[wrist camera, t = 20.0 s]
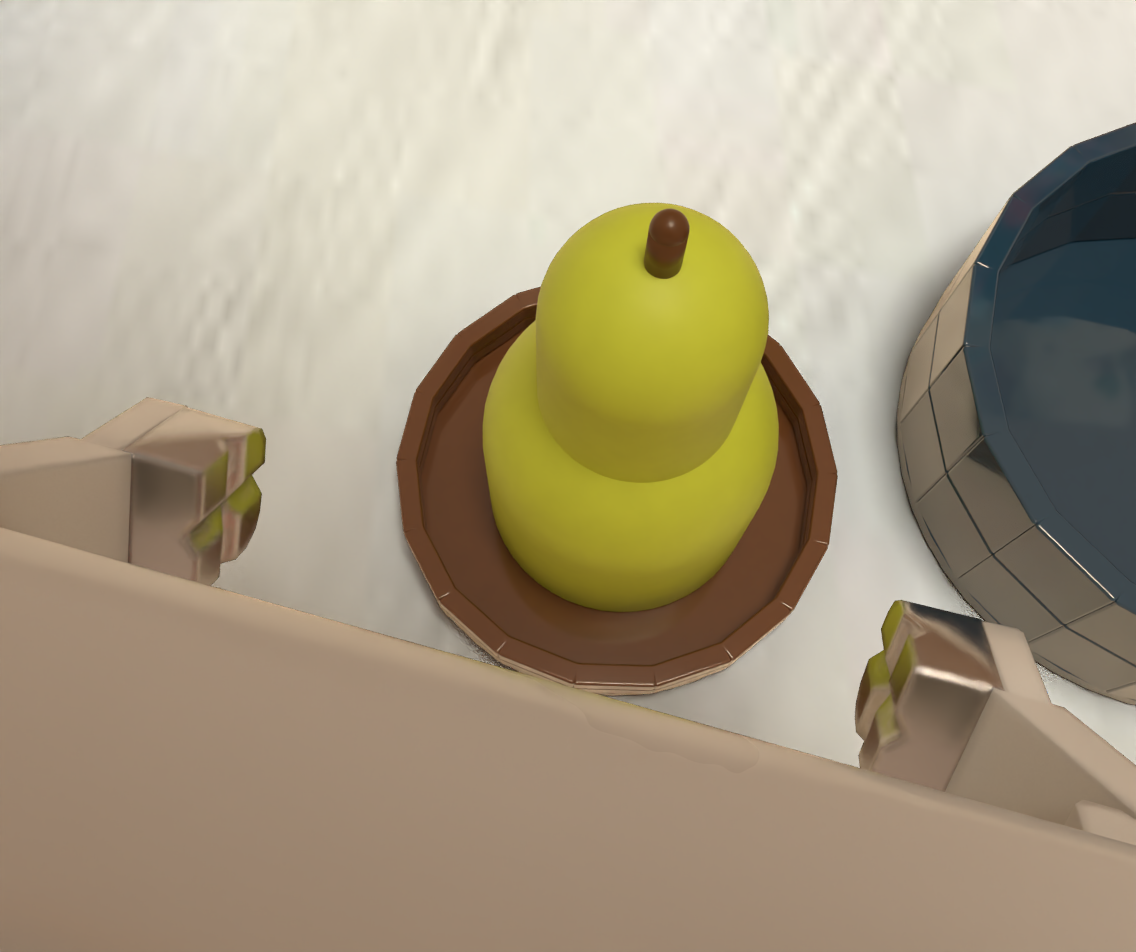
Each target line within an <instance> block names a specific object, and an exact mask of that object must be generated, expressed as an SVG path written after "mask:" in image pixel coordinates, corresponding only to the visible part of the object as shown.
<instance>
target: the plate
mask: <svg viewBox="0 0 1136 952" xmlns="http://www.w3.org/2000/svg"><path fill="white" fill-rule="evenodd" d="M540 288H541V287H538V288H534V289H531V290H527V291H524V292H520V293H517V294H516V295H513V296H511V297H510V298H509V299H507V300H506V301H504V302H503V303H501V304H500V305H498V306H497V307H495V308H494V309H492V310H491V311H490V312H488V313H487V314H485V315H484V316H482V317H481V318H479V319H478V320H476V321H475V322H473V323H472V324H471V325H469V326H468V327H466V328H465V329H463V330H462V331H460V332H459V333H458V335H455V337H454V338H453V339H452V341H451V342H450V344H449V345H448V346H447V348H446V349H445V350H444V352H443V353H442V354H441V356H440V357H439V359H438V360H437V361H436V363H435V364H434V365H433V367H432V368H431V370H430V371H429V372H428V374H427V375H426V376H425V378H424V379H423V381H422V382H421V383H420V385H419V386H418V387H417V389H416V392H415V393H414V396H413V400H412V404H411V407H410V411H409V415H408V418H407V422H406V425H405V429H404V433H403V436H402V440H401V444H400V447H399V451H398V454H397V461H396V466H397V476H398V486H399V496H400V505H401V515H402V525H403V532H404V536H405V538H406V540H407V543H408V545H409V547H410V549H411V551H412V553H413V555H414V557H415V559H416V561H417V563H418V565H419V567H420V569H421V571H422V573H423V575H424V577H425V579H426V581H427V583H428V585H429V586H430V588H431V590H432V592H433V594H434V596H435V598H436V600H437V602H438V604H439V606H440V608H441V609H442V610H443V612H444V613H445V614H446V615H447V616H448V617H449V618H451V619H452V620H453V621H454V622H455V623H456V625H457V626H458V627H459V628H460V629H461V630H462V631H463V632H464V633H465V634H466V635H468V636H469V637H470V638H471V639H472V640H473V641H474V642H475V643H476V644H477V645H478V646H479V647H481V648H482V649H483V650H485V651H486V652H488V653H489V654H490V655H491V656H493V657H494V658H495V659H496V660H497V661H500V662H501V663H502V664H504V665H507V666H509V667H511V668H513V669H515V670H516V671H518V672H520V673H523V674H526V675H530V676H533V677H537V678H540V679H544V680H547V681H551V682H555V683H558V684H562V685H565V686H569V687H572V688H576V689H580V690H583V691H587V692H590V693H594V694H600V695H610V696H614V695H640V694H651V693H657V692H660V691H664V690H669V689H672V688H675V687H679V686H682V685H685V684H688V683H691V682H695V681H697V680H699V679H701V678H703V677H706V676H708V675H710V674H713V673H716V672H719V671H722V670H724V669H725V668H728V667H729V666H730V665H731V664H733V663H734V662H735V661H736V660H737V659H739V658H740V657H741V656H742V655H744V654H745V653H746V652H747V651H749V650H750V649H751V648H752V647H753V646H754V645H756V644H757V643H758V642H759V641H760V640H762V639H763V638H764V637H765V636H766V635H768V634H769V633H770V632H771V631H772V630H774V629H775V628H776V627H777V626H778V625H780V624H781V623H782V622H783V621H784V620H785V619H786V618H787V617H788V616H789V615H790V614H791V612H792V611H793V610H794V609H795V607H796V605H797V603H798V601H799V599H800V598H801V596H802V594H803V592H804V590H805V589H806V587H807V585H808V583H809V581H810V580H811V578H812V576H813V574H814V572H815V570H816V569H817V567H818V565H819V563H820V561H821V560H822V558H823V556H824V554H825V552H826V550H827V549H828V545H829V540H830V532H831V524H832V517H833V509H834V501H835V493H836V485H837V477H838V476H837V469H836V464H835V460H834V456H833V452H832V448H831V444H830V440H829V436H828V432H827V428H826V424H825V420H824V416H823V412H822V408H821V405H819V404H820V403H819V401H818V400H817V398H816V397H815V395H814V394H813V392H812V391H811V389H810V388H809V386H808V385H807V383H806V382H805V380H804V379H803V377H802V376H801V374H800V373H799V371H798V370H797V368H796V367H795V365H794V364H793V362H792V361H791V359H790V358H789V356H788V355H787V353H786V352H785V350H784V349H783V347H782V346H781V345H780V344H779V343H778V342H777V341H775V340H774V339H773V338H772V337H770V336H769V335H768V336H767V341H766V346H765V350H764V354H763V356H762V359H761V364H762V365H763V367H764V370H765V372H766V375H767V377H768V380H769V382H770V385H771V387H772V390H773V394H774V398H775V402H776V406H777V414H778V423H779V436H778V453H777V459H776V465H775V469H774V472H773V475H772V478H771V481H770V485H769V487H768V490H767V492H766V494H765V496H764V499H763V501H762V503H761V505H760V507H759V509H758V510H757V512H756V514H755V515H754V517H753V519H752V520H751V522H750V524H749V525H748V527H747V529H746V530H745V532H744V534H743V535H742V537H741V539H740V541H739V542H738V544H737V546H736V547H735V549H734V551H733V552H732V554H731V555H730V556H729V558H728V559H727V561H726V562H725V564H724V565H723V566H722V567H721V568H720V569H719V570H718V572H717V573H716V574H715V575H714V576H713V577H712V578H711V579H709V580H708V581H707V582H706V583H705V584H703V585H702V586H701V587H700V588H698V589H697V590H695V591H693V592H692V593H690V594H689V595H687V596H685V597H683V598H681V599H679V600H677V601H674V602H672V603H670V604H667V605H663V606H660V607H657V608H654V609H648V610H642V611H634V612H613V611H602V610H597V609H593V608H588V607H584V606H581V605H578V604H575V603H573V602H570V601H567V600H565V599H563V598H561V597H559V596H558V595H556V594H554V593H552V592H550V591H549V590H547V589H546V588H544V587H543V586H542V585H540V584H539V583H537V582H536V581H535V580H534V579H533V578H532V577H531V576H530V575H529V574H527V573H526V572H525V571H524V570H523V569H522V567H521V566H520V565H519V564H518V563H517V561H516V560H515V559H514V558H513V556H512V555H511V553H510V552H509V550H508V548H507V547H506V545H505V544H504V542H503V539H502V537H501V535H500V533H499V531H498V528H497V525H496V522H495V518H494V515H493V511H492V505H491V498H490V492H489V485H488V478H487V472H486V465H485V458H484V452H483V417H484V409H485V403H486V400H487V396H488V392H489V389H490V386H491V383H492V381H493V378H494V376H495V374H496V371H497V369H498V367H499V364H500V363H501V361H502V359H503V358H504V356H505V355H506V353H507V351H508V350H509V348H510V347H511V346H512V345H513V343H514V342H515V341H516V340H517V338H518V337H519V336H520V335H521V334H522V333H523V332H524V330H526V329H527V328H528V327H529V326H530V325H531V324H532V323H533V322H534V321H535V320H536V311H537V302H538V296H539V292H540ZM779 345H780V346H779Z"/></svg>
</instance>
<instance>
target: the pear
mask: <svg viewBox="0 0 1136 952" xmlns="http://www.w3.org/2000/svg"><path fill="white" fill-rule="evenodd" d="M768 324H769V310H768V301H767V296H766V292H765V288H764V284H763V281H762V278H761V276H760V273H759V271H758V268H757V266H756V264H755V263H754V261H753V259H752V258H751V256H750V254H749V253H748V252H747V250H746V249H745V248H744V246H743V245H742V244H741V243H740V241H739V240H738V239H737V238H736V237H735V236H734V235H733V234H732V233H731V232H730V231H729V230H727V229H726V228H725V227H724V226H722V225H721V224H720V223H718V222H717V221H715V220H713V219H712V218H710V217H708V216H706V215H704V214H702V213H700V212H697V211H695V210H692V209H689V208H686V207H683V206H678V205H673V204H666V203H641V204H634V205H628V206H624V207H620V208H617V209H614V210H612V211H609V212H607V213H604V214H603V215H601V216H599V217H597V218H595V219H593V220H592V221H590V222H589V223H587V224H586V225H585V226H583V227H582V228H580V229H579V230H578V231H577V232H576V233H575V234H573V235H572V236H571V237H570V238H569V239H568V241H567V242H566V243H565V244H564V245H563V247H562V248H561V249H560V250H559V252H558V253H557V254H556V256H555V257H554V259H553V261H552V262H551V264H550V266H549V268H548V270H547V273H546V275H545V277H544V280H543V282H542V285H541V288H540V292H539V296H538V302H537V311H536V320H535V321H534V322H533V323H532V324H531V325H530V326H529V327H528V328H527V329H526V330H524V332H523V333H522V334H521V335H520V336H519V337H518V338H517V340H516V341H515V342H514V343H513V345H512V346H511V347H510V348H509V350H508V351H507V353H506V355H505V356H504V358H503V359H502V361H501V363H500V364H499V367H498V369H497V371H496V374H495V376H494V378H493V381H492V383H491V386H490V389H489V392H488V396H487V400H486V403H485V409H484V417H483V452H484V458H485V465H486V472H487V478H488V485H489V492H490V498H491V505H492V511H493V515H494V518H495V522H496V525H497V528H498V531H499V533H500V535H501V537H502V539H503V542H504V544H505V545H506V547H507V548H508V550H509V552H510V553H511V555H512V556H513V558H514V559H515V560H516V561H517V563H518V564H519V565H520V566H521V567H522V569H523V570H524V571H525V572H526V573H527V574H529V575H530V576H531V577H532V578H533V579H534V580H535V581H536V582H537V583H539V584H540V585H542V586H543V587H544V588H546V589H547V590H549V591H550V592H552V593H554V594H556V595H558V596H559V597H561V598H563V599H565V600H567V601H570V602H573V603H575V604H578V605H581V606H584V607H588V608H593V609H597V610H602V611H613V612H634V611H642V610H648V609H654V608H657V607H660V606H663V605H667V604H670V603H672V602H674V601H677V600H679V599H681V598H683V597H685V596H687V595H689V594H690V593H692V592H693V591H695V590H697V589H698V588H700V587H701V586H702V585H703V584H705V583H706V582H707V581H708V580H709V579H711V578H712V577H713V576H714V575H715V574H716V573H717V572H718V570H719V569H720V568H721V567H722V566H723V565H724V564H725V562H726V561H727V559H728V558H729V556H730V555H731V554H732V552H733V551H734V549H735V547H736V546H737V544H738V542H739V541H740V539H741V537H742V535H743V534H744V532H745V530H746V529H747V527H748V525H749V524H750V522H751V520H752V519H753V517H754V515H755V514H756V512H757V510H758V509H759V507H760V505H761V503H762V501H763V499H764V496H765V494H766V492H767V490H768V487H769V485H770V481H771V478H772V475H773V472H774V469H775V465H776V459H777V453H778V436H779V423H778V414H777V406H776V402H775V398H774V394H773V390H772V387H771V385H770V382H769V380H768V377H767V375H766V372H765V370H764V367H763V365H762V364H761V359H762V356H763V354H764V350H765V346H766V341H767V336H768Z"/></svg>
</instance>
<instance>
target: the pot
mask: <svg viewBox="0 0 1136 952" xmlns="http://www.w3.org/2000/svg"><path fill="white" fill-rule="evenodd" d="M897 443H898V451H899V458H900V464H901V471H902V477H903V480H904V484H905V487H906V491H907V494H908V498H909V501H910V504H911V508H912V510H913V513H914V515H915V517H916V520H917V522H918V524H919V526H920V529H921V531H922V533H923V536H924V538H925V540H926V542H927V544H928V545H929V547H930V549H931V550H932V552H933V554H934V556H935V557H936V559H937V561H938V562H939V564H940V566H941V567H942V569H943V571H944V572H945V573H946V575H947V576H948V577H949V579H950V580H951V581H952V583H953V584H954V585H955V587H956V588H957V589H958V591H959V592H960V593H961V594H962V596H963V597H964V598H965V600H966V601H967V602H968V603H969V604H970V605H971V606H972V607H973V608H974V609H975V610H976V611H977V612H978V613H979V614H980V615H981V616H982V617H983V618H984V619H985V621H986V622H989V623H994V624H998V625H1003V626H1008V627H1012V628H1017V629H1019V630H1020V631H1021V632H1023V633H1024V635H1025V638H1026V640H1027V643H1028V646H1029V648H1030V651H1031V653H1032V656H1033V658H1034V660H1035V661H1037V662H1038V663H1040V664H1042V665H1043V666H1045V667H1046V668H1048V669H1049V670H1051V671H1052V672H1054V673H1056V674H1058V675H1060V676H1062V677H1064V678H1066V679H1068V680H1070V681H1072V682H1074V683H1076V684H1078V685H1080V686H1082V687H1084V688H1086V689H1088V690H1091V691H1094V692H1096V693H1099V694H1102V695H1105V696H1108V697H1110V698H1113V699H1116V700H1119V701H1122V702H1124V703H1129V704H1133V705H1136V123H1133V124H1130V125H1127V126H1125V127H1122V128H1119V129H1116V130H1114V131H1111V132H1108V133H1105V134H1102V135H1100V136H1097V137H1094V138H1091V139H1089V140H1086V141H1083V142H1080V143H1078V144H1075V145H1073V146H1071V147H1069V148H1068V149H1066V150H1065V151H1064V152H1063V153H1062V154H1060V155H1059V156H1058V157H1057V158H1055V159H1054V160H1053V161H1052V162H1051V163H1049V164H1048V165H1047V166H1046V167H1045V168H1043V169H1042V170H1041V171H1040V172H1038V173H1037V174H1036V175H1035V176H1034V177H1032V178H1031V179H1030V180H1029V181H1027V182H1026V183H1025V184H1024V185H1023V186H1021V187H1020V188H1019V189H1018V190H1016V191H1015V192H1014V193H1013V194H1012V195H1011V197H1010V198H1009V199H1008V201H1007V202H1006V203H1005V205H1004V206H1003V208H1002V209H1001V211H1000V212H999V213H998V215H997V216H996V218H995V219H994V221H993V222H992V224H991V225H990V226H989V228H988V229H987V231H986V232H985V234H984V235H983V237H982V238H981V239H980V241H979V242H978V244H977V245H976V247H975V248H974V250H973V251H972V252H971V254H970V255H969V257H968V258H967V260H966V261H965V262H964V264H963V265H962V267H961V268H960V270H959V271H958V273H957V274H956V275H955V277H954V278H953V280H952V281H951V283H950V284H949V286H948V287H947V288H946V290H945V291H944V293H943V294H942V296H941V298H940V300H939V302H938V303H937V305H936V307H935V309H934V310H933V312H932V314H931V316H930V318H929V319H928V321H927V322H926V324H925V325H924V327H923V328H922V330H921V332H920V334H919V336H918V338H917V340H916V342H915V344H914V346H913V348H912V351H911V353H910V355H909V358H908V362H907V365H906V369H905V372H904V376H903V379H902V383H901V389H900V396H899V404H898V411H897Z"/></svg>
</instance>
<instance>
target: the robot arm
mask: <svg viewBox="0 0 1136 952" xmlns="http://www.w3.org/2000/svg"><path fill="white" fill-rule="evenodd" d="M265 447H266V438H265V435H264V432H263V430H262V429H261V428H258V427H254V426H251V425H247V424H244V423H240V422H237V421H234V420H230V419H227V418H223V417H220V416H216V415H213V414H209V413H206V412H202V411H199V410H195V409H192V408H188V407H187V406H185V405H180V404H176V403H172V402H167V401H163V400H158V399H154V398H149V397H146V398H145V399H143V400H142V401H140V402H139V403H137V404H135V405H134V406H132V407H131V408H129V409H128V410H126V411H124V412H123V413H121V414H120V415H118V416H116V417H115V418H113V419H112V420H110V421H109V422H107V423H105V424H104V425H102V426H101V427H99V428H98V429H96V430H94V431H93V432H91V433H90V434H88V435H86V436H85V437H83V438H82V439H77V438H73V437H70V436H67V437H60V438H52V439H44V440H37V441H29V442H21V443H13V444H6V445H0V952H1136V765H1135V764H1134V763H1132V762H1131V761H1130V760H1129V759H1127V758H1126V757H1125V756H1124V755H1122V754H1121V753H1120V752H1119V751H1117V750H1116V749H1115V748H1114V747H1112V746H1111V745H1110V744H1109V743H1108V742H1106V741H1105V740H1104V739H1103V738H1101V737H1100V736H1099V735H1098V734H1096V733H1095V732H1094V731H1093V730H1091V729H1090V728H1089V727H1088V726H1086V725H1085V724H1084V723H1083V722H1082V721H1080V720H1079V719H1078V718H1077V717H1075V716H1074V715H1073V714H1072V713H1070V712H1069V711H1068V710H1067V709H1065V708H1064V707H1060V706H1057V705H1053V704H1052V703H1051V701H1050V698H1049V696H1048V693H1047V691H1046V688H1045V686H1044V683H1043V681H1042V678H1041V676H1040V673H1039V671H1038V668H1037V666H1036V663H1035V661H1034V658H1033V656H1032V653H1031V651H1030V648H1029V646H1028V643H1027V640H1026V638H1025V635H1024V633H1023V632H1021V631H1020V630H1019V629H1017V628H1012V627H1008V626H1003V625H998V624H994V623H989V622H985V621H981V619H977V618H973V617H969V616H965V615H961V614H957V613H952V612H948V611H944V610H940V609H936V608H932V607H928V606H924V605H920V604H916V603H911V602H907V601H903V600H898V601H894V603H893V605H892V606H891V608H890V610H889V611H888V613H887V616H886V618H885V621H884V623H883V626H882V628H881V633H882V640H883V646H884V650H883V651H881V652H880V653H878V654H877V655H875V656H873V657H872V658H870V659H869V661H868V663H867V666H866V669H865V672H864V674H863V677H862V680H861V683H860V687H859V692H858V696H857V700H856V708H855V726H856V732H857V733H858V735H859V736H860V737H861V738H862V739H863V740H864V743H863V745H862V748H861V750H860V753H859V755H858V756H859V764H860V768H858V767H854V766H851V765H847V764H843V763H840V762H836V761H833V760H829V759H826V758H822V757H818V756H815V755H811V754H808V753H804V752H801V751H797V750H793V749H790V748H786V747H783V746H779V745H776V744H772V743H768V742H765V741H761V740H758V739H754V738H751V737H747V736H743V735H740V734H736V733H733V732H729V731H726V730H722V729H718V728H715V727H711V726H708V725H704V724H701V723H697V722H694V721H690V720H686V719H683V718H679V717H676V716H672V715H669V714H665V713H661V712H658V711H654V710H651V709H647V708H644V707H640V706H637V705H633V704H629V703H626V702H622V701H619V700H615V699H612V698H608V697H604V696H601V695H597V694H594V693H590V692H587V691H583V690H580V689H576V688H572V687H569V686H565V685H562V684H558V683H555V682H551V681H547V680H544V679H540V678H537V677H533V676H530V675H526V674H523V673H519V672H515V671H512V670H508V669H505V668H501V667H498V666H494V665H490V664H487V663H483V662H480V661H476V660H473V659H469V658H466V657H462V656H458V655H455V654H451V653H448V652H444V651H441V650H437V649H433V648H430V647H426V646H423V645H419V644H416V643H412V642H409V641H405V640H401V639H398V638H394V637H391V636H387V635H384V634H380V633H376V632H373V631H369V630H366V629H362V628H359V627H355V626H352V625H348V624H344V623H341V622H337V621H334V620H330V619H327V618H323V617H319V616H316V615H312V614H309V613H305V612H302V611H298V610H294V609H291V608H287V607H284V606H280V605H277V604H273V603H270V602H266V601H262V600H259V599H255V598H252V597H248V596H245V595H241V594H237V593H234V592H230V591H227V590H223V589H220V588H216V587H213V586H211V585H212V584H213V583H214V582H215V581H216V580H217V579H218V578H219V574H220V564H221V563H225V562H228V561H232V560H236V559H237V558H238V556H239V555H240V554H241V553H242V552H243V551H244V550H245V549H246V547H247V545H248V543H249V541H250V539H251V537H252V535H253V533H254V531H255V529H256V525H257V521H258V517H259V513H260V506H261V496H262V493H261V491H260V489H259V487H258V486H257V484H256V482H255V480H254V478H253V476H252V474H253V473H254V472H255V471H256V470H257V469H258V468H259V467H260V466H261V465H263V464H264V463H265Z"/></svg>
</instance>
